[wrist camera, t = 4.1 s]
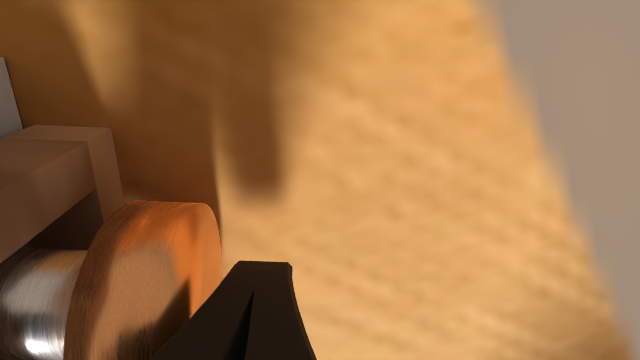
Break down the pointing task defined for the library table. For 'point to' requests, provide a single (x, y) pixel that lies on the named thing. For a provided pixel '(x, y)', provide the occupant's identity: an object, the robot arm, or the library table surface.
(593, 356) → the library table surface
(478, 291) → the library table surface
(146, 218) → the shaft
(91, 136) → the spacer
